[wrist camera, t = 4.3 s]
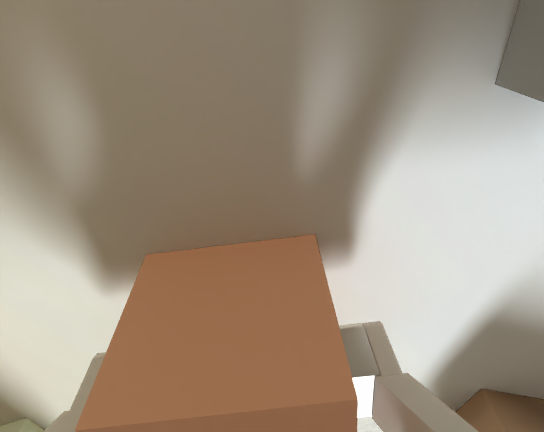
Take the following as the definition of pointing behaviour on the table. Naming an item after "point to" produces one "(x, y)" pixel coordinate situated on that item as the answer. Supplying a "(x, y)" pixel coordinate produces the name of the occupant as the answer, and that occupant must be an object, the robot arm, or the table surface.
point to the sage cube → (21, 426)
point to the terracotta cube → (227, 346)
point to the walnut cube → (503, 412)
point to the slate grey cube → (525, 52)
